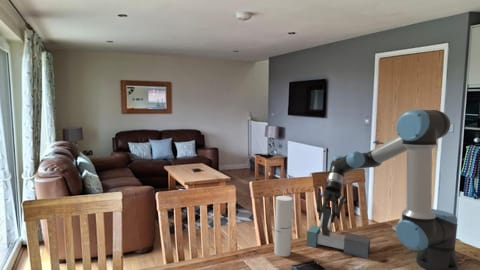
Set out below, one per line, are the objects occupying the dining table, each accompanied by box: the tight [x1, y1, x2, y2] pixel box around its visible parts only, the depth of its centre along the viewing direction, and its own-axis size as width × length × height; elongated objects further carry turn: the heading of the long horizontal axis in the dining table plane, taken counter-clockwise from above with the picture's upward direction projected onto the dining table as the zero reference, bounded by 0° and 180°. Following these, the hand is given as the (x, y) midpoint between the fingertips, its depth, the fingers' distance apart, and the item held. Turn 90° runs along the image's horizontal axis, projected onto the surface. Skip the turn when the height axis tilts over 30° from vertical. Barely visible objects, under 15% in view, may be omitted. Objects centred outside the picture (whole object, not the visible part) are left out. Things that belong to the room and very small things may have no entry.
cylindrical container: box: [274, 195, 293, 258], centre depth 142 cm, size 7×7×25 cm
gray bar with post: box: [316, 205, 346, 251], centre depth 149 cm, size 18×5×17 cm, turn 62°
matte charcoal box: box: [343, 232, 371, 260], centre depth 144 cm, size 10×7×7 cm
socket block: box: [306, 224, 322, 248], centre depth 153 cm, size 4×8×7 cm, turn 152°
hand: (324, 227), depth 147 cm, fingers closed on gray bar with post, 3 cm apart
